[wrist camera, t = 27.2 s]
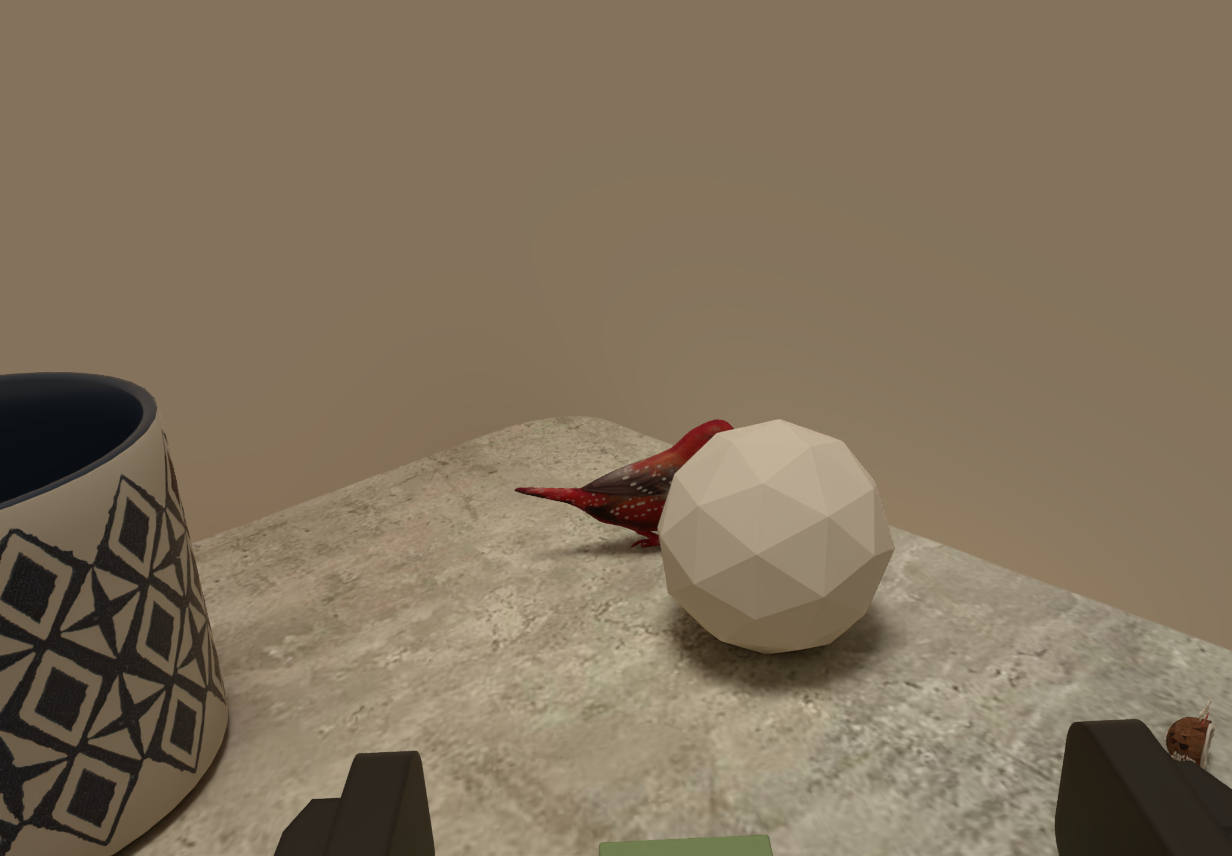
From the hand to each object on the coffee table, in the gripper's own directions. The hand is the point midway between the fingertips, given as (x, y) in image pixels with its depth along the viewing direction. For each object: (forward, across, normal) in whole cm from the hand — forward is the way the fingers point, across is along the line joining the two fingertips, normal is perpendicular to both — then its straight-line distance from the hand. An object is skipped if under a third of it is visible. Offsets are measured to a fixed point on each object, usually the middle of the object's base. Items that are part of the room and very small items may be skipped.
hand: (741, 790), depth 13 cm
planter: (+37, +36, +30) cm, 60 cm away
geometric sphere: (+48, -8, +30) cm, 57 cm away
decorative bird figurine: (+60, +1, +30) cm, 67 cm away
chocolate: (+34, -28, +30) cm, 53 cm away
